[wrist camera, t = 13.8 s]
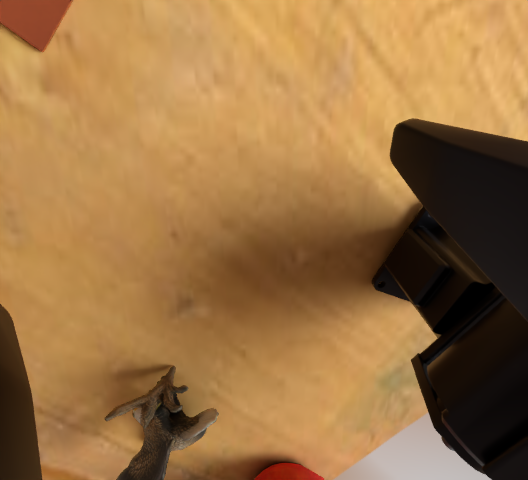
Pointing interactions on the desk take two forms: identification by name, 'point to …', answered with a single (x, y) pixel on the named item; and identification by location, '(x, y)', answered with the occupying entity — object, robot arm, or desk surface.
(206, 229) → the desk surface
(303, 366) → the desk surface
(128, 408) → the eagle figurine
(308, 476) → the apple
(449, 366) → the robot arm
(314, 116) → the desk surface
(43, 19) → the corner rail
